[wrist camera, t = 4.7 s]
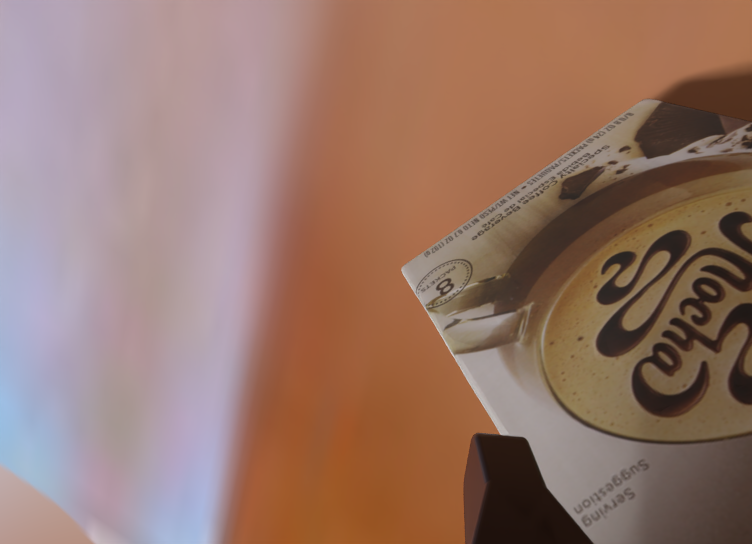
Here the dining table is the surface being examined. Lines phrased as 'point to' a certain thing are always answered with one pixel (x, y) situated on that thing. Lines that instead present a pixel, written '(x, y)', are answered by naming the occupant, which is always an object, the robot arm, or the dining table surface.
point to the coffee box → (618, 324)
